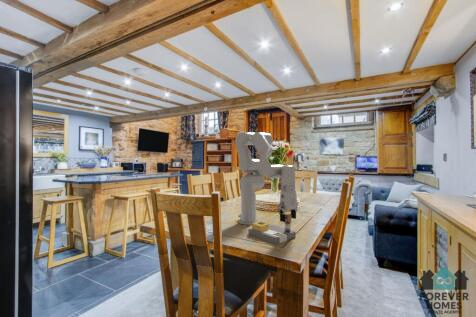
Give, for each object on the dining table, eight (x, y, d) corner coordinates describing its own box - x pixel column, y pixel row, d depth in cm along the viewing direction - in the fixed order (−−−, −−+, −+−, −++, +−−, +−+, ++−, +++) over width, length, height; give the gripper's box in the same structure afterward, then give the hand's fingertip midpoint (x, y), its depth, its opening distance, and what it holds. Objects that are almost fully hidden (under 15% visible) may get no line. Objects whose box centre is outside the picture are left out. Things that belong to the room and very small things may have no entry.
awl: (282, 231, 124) (282, 214, 124) (286, 229, 127) (286, 213, 127) (288, 233, 121) (288, 216, 121) (292, 231, 124) (293, 214, 124)
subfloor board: (248, 234, 128) (248, 228, 128) (267, 228, 138) (267, 223, 138) (277, 244, 113) (277, 238, 113) (295, 237, 124) (295, 231, 124)
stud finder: (252, 228, 128) (252, 222, 128) (259, 226, 132) (259, 221, 132) (261, 231, 123) (261, 225, 123) (268, 229, 127) (268, 223, 127)
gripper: (284, 190, 115) (284, 224, 115) (302, 187, 127) (303, 218, 127) (272, 188, 121) (272, 221, 120) (291, 186, 132) (291, 216, 132)
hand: (288, 219), depth 124 cm, fingers open, 9 cm apart
